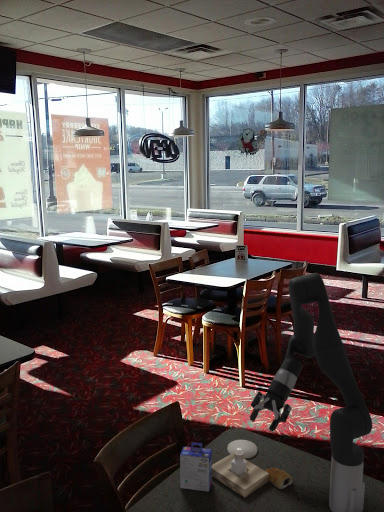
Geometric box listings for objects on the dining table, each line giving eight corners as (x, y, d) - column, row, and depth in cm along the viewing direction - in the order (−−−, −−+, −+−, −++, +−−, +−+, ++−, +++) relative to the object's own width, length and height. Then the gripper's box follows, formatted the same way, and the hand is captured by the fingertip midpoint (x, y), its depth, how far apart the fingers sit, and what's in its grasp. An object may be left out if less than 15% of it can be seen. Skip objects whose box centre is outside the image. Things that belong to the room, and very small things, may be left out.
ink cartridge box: (212, 481, 165) (212, 442, 162) (209, 492, 160) (209, 451, 157) (183, 478, 167) (183, 439, 164) (179, 488, 162) (179, 448, 159)
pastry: (260, 476, 168) (260, 466, 167) (274, 469, 172) (275, 459, 171) (280, 491, 160) (280, 481, 159) (294, 484, 164) (295, 473, 163)
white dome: (263, 450, 182) (263, 448, 182) (243, 462, 175) (243, 460, 175) (241, 438, 190) (241, 436, 190) (221, 449, 183) (221, 447, 183)
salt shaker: (238, 483, 164) (238, 457, 162) (230, 477, 167) (230, 451, 165) (247, 478, 166) (247, 453, 165) (239, 472, 170) (239, 447, 168)
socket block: (268, 481, 165) (268, 473, 164) (244, 497, 157) (244, 489, 156) (233, 460, 177) (233, 452, 176) (209, 474, 169) (209, 466, 168)
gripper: (262, 373, 180) (240, 413, 174) (294, 386, 169) (272, 429, 164) (271, 382, 184) (250, 421, 179) (303, 396, 174) (282, 438, 169)
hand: (261, 425), depth 171 cm, fingers open, 8 cm apart
